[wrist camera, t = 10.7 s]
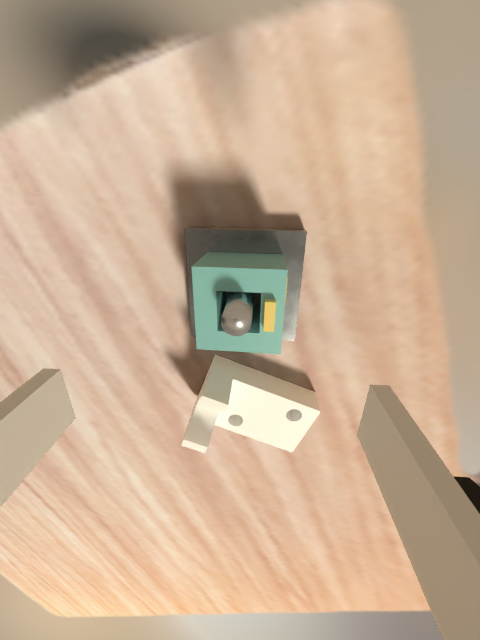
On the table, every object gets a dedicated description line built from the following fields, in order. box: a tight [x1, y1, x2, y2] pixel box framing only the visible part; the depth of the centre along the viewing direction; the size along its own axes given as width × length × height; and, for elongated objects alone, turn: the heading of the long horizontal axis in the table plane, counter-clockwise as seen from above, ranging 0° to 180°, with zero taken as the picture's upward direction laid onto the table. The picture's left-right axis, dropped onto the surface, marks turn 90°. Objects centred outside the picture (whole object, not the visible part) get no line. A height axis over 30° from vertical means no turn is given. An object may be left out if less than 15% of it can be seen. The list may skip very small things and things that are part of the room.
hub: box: [192, 252, 288, 354], centre depth 23 cm, size 7×7×7 cm
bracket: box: [182, 355, 321, 453], centre depth 30 cm, size 13×7×8 cm, turn 69°
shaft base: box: [184, 227, 307, 341], centre depth 23 cm, size 11×11×10 cm
